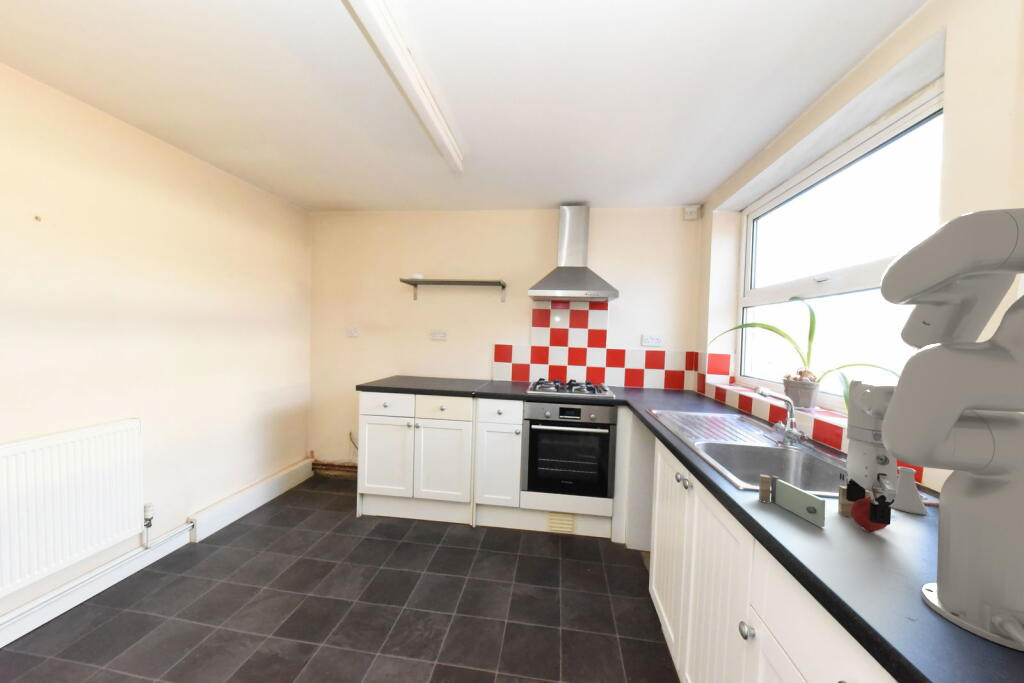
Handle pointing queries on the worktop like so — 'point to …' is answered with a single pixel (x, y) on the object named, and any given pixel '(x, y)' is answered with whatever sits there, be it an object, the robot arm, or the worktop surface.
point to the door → (798, 501)
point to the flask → (908, 493)
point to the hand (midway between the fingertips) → (866, 511)
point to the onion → (864, 515)
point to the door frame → (843, 503)
